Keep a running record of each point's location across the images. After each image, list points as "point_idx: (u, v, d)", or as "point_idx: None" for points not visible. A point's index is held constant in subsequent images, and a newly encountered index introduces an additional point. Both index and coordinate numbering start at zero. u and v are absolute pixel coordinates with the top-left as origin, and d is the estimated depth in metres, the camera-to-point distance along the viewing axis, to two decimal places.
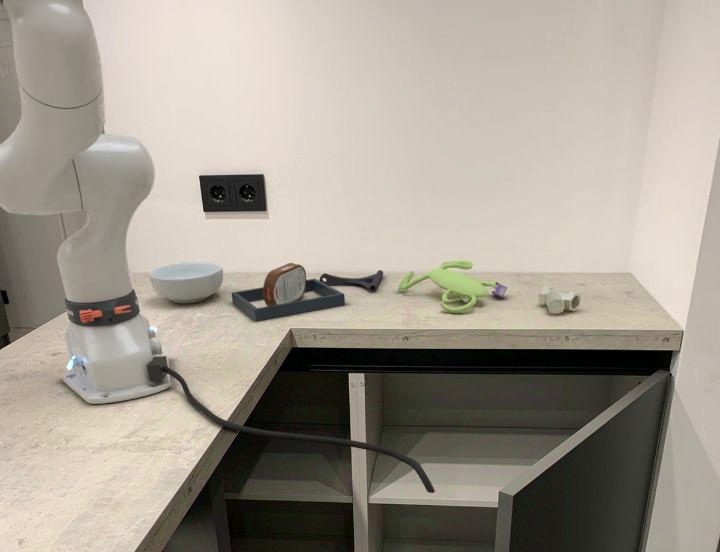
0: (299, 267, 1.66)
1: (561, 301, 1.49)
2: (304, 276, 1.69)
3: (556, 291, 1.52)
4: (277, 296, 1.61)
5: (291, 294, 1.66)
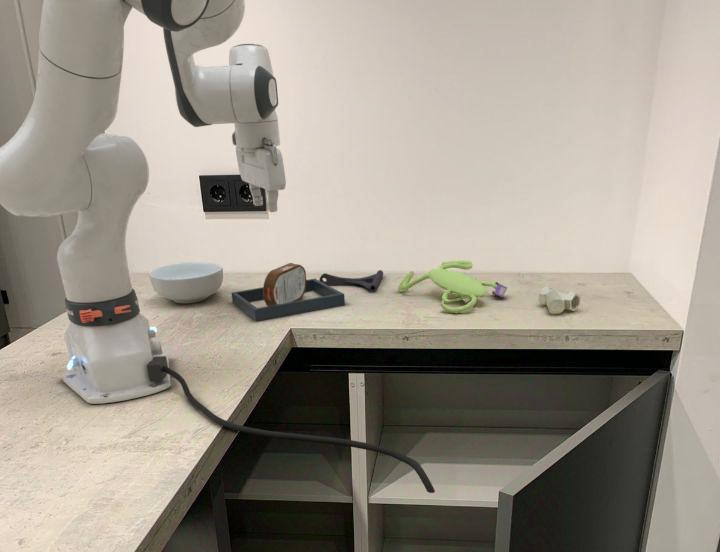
0: (299, 267, 1.66)
1: (561, 301, 1.49)
2: (304, 276, 1.69)
3: (556, 291, 1.52)
4: (277, 296, 1.61)
5: (291, 294, 1.66)
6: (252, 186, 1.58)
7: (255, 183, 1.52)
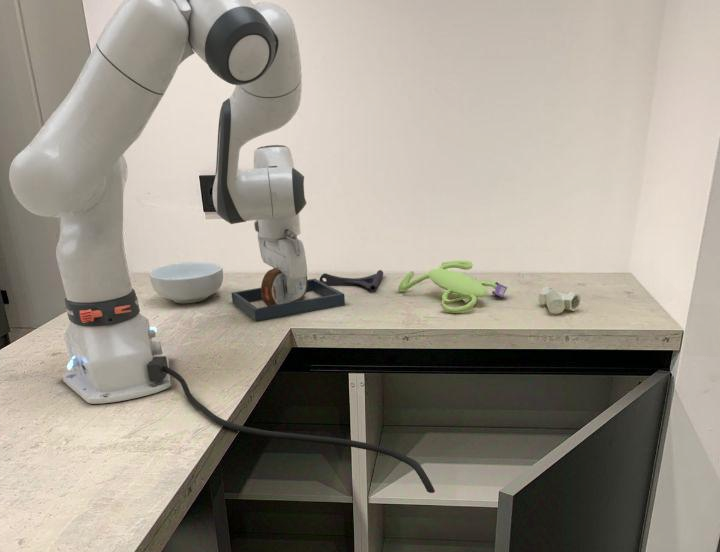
0: None
1: (561, 301, 1.49)
2: None
3: (556, 291, 1.52)
4: (276, 295, 1.61)
5: (291, 294, 1.66)
6: None
7: (277, 268, 1.62)
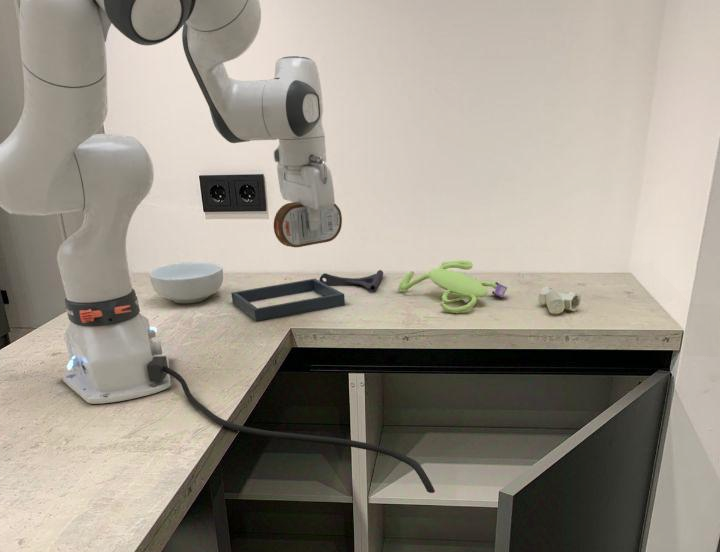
0: None
1: (561, 301, 1.49)
2: (338, 215, 1.50)
3: (556, 291, 1.52)
4: (289, 232, 1.45)
5: (314, 233, 1.48)
6: None
7: (299, 202, 1.44)
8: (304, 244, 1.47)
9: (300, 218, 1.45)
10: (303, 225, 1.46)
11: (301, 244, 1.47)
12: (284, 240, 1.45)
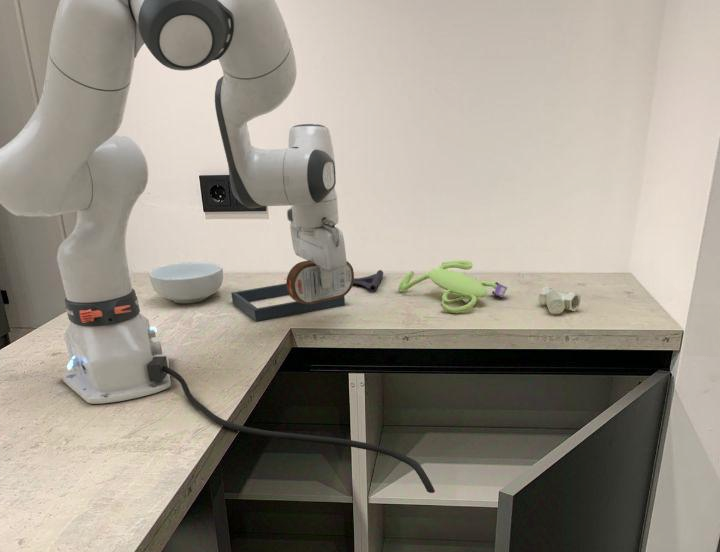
0: None
1: (561, 301, 1.49)
2: (350, 272, 1.53)
3: (556, 291, 1.52)
4: (302, 290, 1.48)
5: (326, 290, 1.51)
6: None
7: (312, 261, 1.48)
8: (316, 301, 1.51)
9: (312, 276, 1.48)
10: (315, 283, 1.49)
11: (313, 301, 1.50)
12: (296, 298, 1.48)
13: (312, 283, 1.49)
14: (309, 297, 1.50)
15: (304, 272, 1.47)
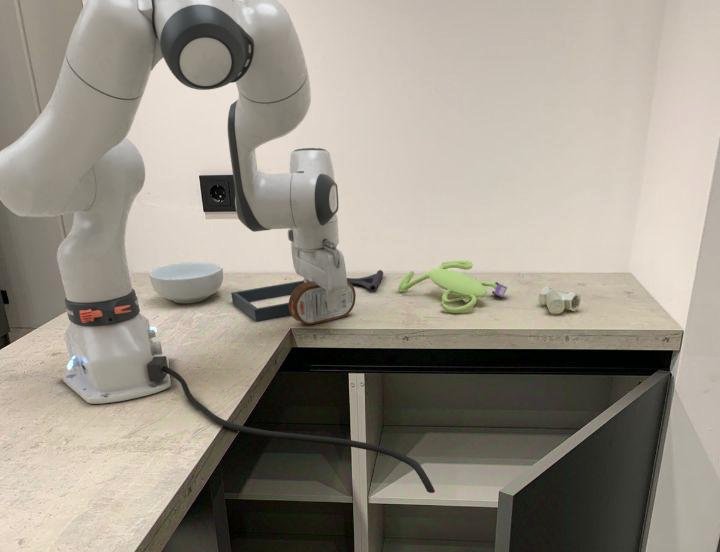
0: None
1: (561, 301, 1.49)
2: (352, 293, 1.55)
3: (556, 291, 1.52)
4: (304, 311, 1.50)
5: (328, 311, 1.53)
6: (307, 280, 1.55)
7: (313, 281, 1.50)
8: (317, 321, 1.53)
9: (314, 298, 1.50)
10: (317, 304, 1.51)
11: (314, 321, 1.52)
12: (298, 319, 1.50)
13: (314, 304, 1.51)
14: (311, 318, 1.52)
15: (306, 294, 1.49)
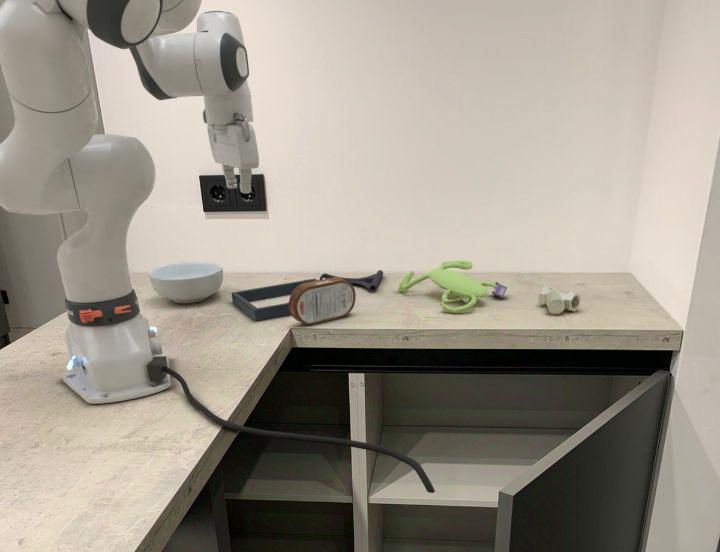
0: (342, 283, 1.52)
1: (561, 301, 1.49)
2: (352, 293, 1.55)
3: (556, 291, 1.52)
4: (304, 311, 1.50)
5: (328, 311, 1.53)
6: (225, 167, 1.48)
7: (227, 163, 1.43)
8: (317, 321, 1.53)
9: (314, 298, 1.50)
10: (317, 304, 1.51)
11: (314, 321, 1.52)
12: (298, 319, 1.50)
13: (314, 304, 1.51)
14: (311, 318, 1.52)
15: (307, 294, 1.49)
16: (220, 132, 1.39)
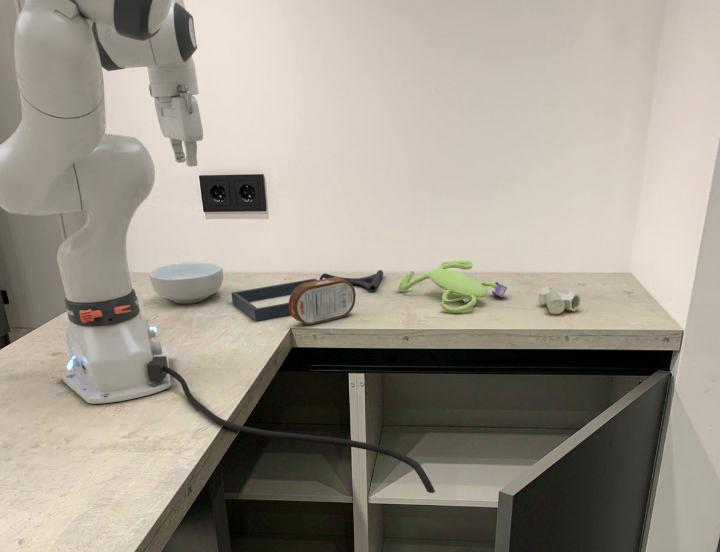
0: (342, 283, 1.52)
1: (561, 301, 1.49)
2: (352, 293, 1.55)
3: (556, 291, 1.52)
4: (304, 311, 1.50)
5: (328, 311, 1.53)
6: (173, 141, 1.48)
7: (173, 136, 1.43)
8: (317, 321, 1.53)
9: (314, 298, 1.50)
10: (317, 304, 1.51)
11: (314, 321, 1.52)
12: (298, 319, 1.50)
13: (314, 304, 1.51)
14: (311, 318, 1.52)
15: (307, 294, 1.49)
16: (165, 105, 1.39)
